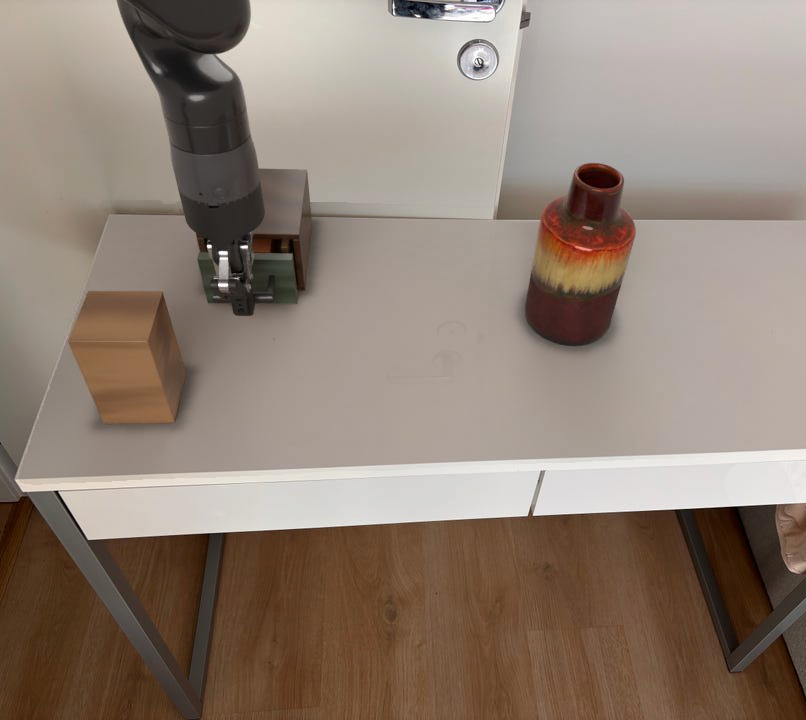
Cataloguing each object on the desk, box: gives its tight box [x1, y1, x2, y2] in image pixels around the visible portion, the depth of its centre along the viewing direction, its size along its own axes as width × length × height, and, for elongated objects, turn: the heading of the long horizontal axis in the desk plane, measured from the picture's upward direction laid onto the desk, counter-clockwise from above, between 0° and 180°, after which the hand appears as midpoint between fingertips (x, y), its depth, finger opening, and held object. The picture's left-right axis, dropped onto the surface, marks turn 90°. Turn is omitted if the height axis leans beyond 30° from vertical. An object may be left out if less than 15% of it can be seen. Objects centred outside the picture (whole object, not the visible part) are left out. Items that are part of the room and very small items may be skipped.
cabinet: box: [195, 167, 313, 291], centre depth 95 cm, size 14×12×9 cm
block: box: [253, 239, 277, 253], centre depth 91 cm, size 4×4×4 cm
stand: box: [67, 290, 187, 425], centre depth 76 cm, size 7×7×12 cm
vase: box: [524, 162, 637, 347], centre depth 87 cm, size 11×11×20 cm
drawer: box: [196, 239, 299, 305], centre depth 90 cm, size 17×10×7 cm, turn 5°
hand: (244, 311), depth 84 cm, fingers closed
